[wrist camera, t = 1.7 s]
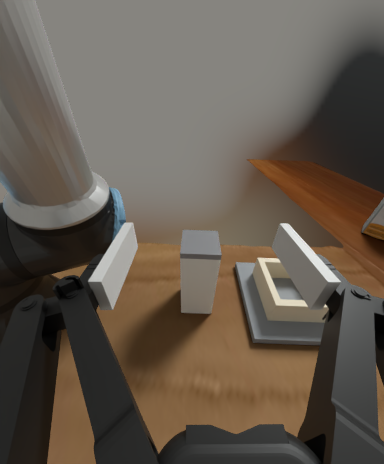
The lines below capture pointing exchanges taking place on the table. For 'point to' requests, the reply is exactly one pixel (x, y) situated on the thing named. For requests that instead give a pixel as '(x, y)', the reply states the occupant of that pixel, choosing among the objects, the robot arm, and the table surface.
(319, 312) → the holder
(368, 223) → the hard drive box
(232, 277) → the table surface
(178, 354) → the table surface
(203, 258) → the white grey-topped block
